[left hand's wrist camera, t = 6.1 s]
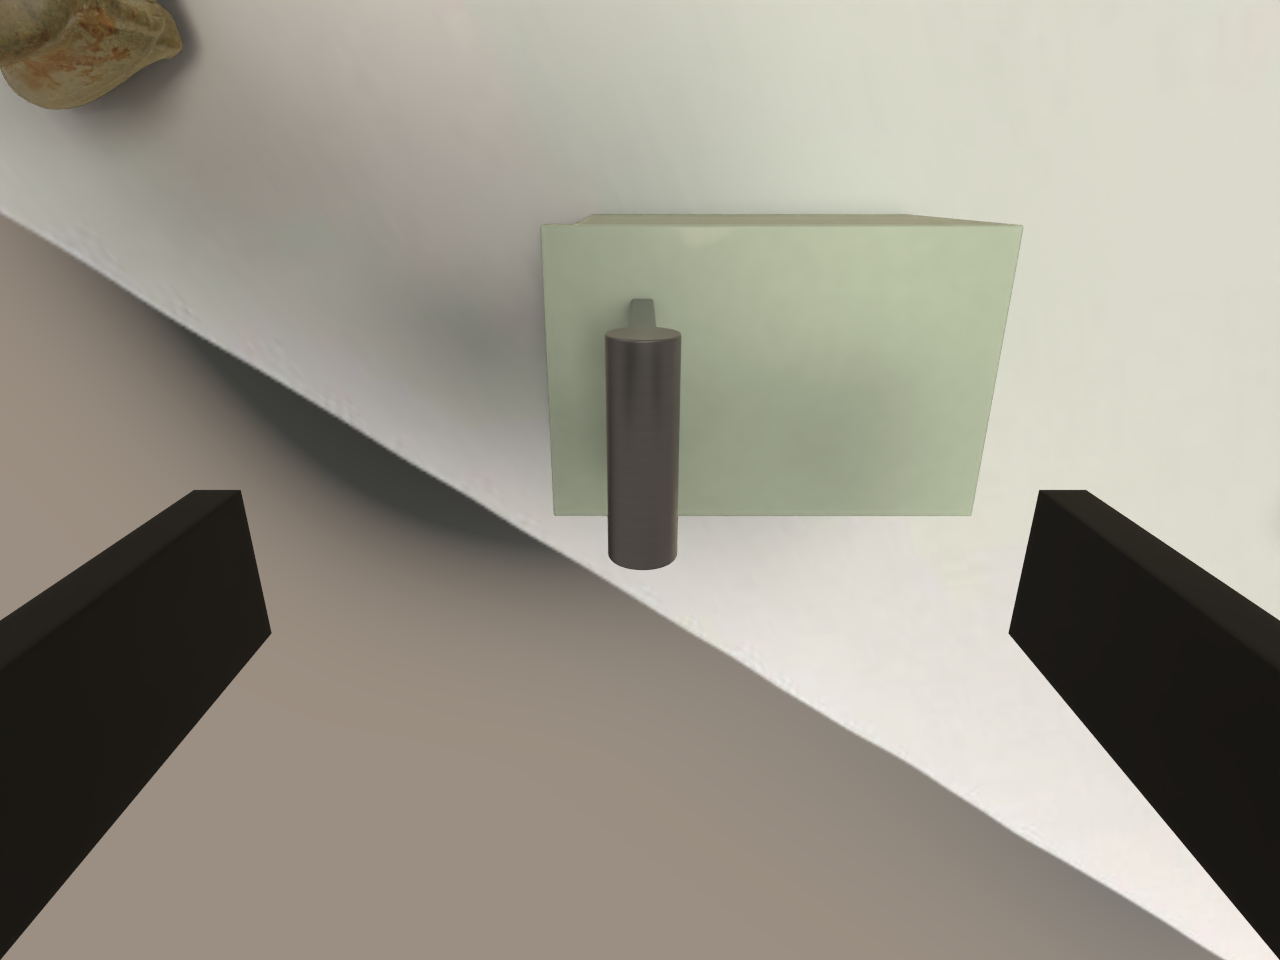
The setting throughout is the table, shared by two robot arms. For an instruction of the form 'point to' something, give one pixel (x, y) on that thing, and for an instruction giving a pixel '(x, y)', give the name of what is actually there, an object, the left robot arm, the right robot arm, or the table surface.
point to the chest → (772, 219)
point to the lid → (769, 370)
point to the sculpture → (80, 46)
